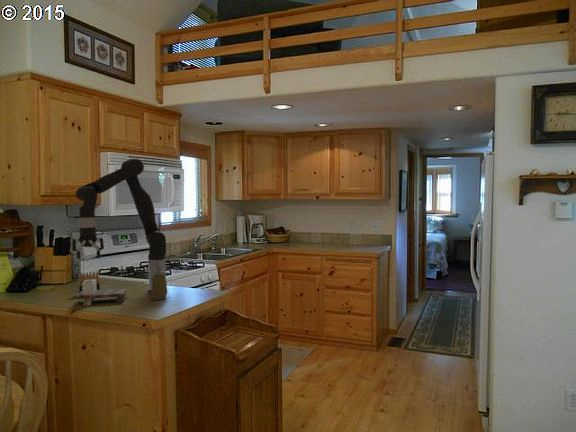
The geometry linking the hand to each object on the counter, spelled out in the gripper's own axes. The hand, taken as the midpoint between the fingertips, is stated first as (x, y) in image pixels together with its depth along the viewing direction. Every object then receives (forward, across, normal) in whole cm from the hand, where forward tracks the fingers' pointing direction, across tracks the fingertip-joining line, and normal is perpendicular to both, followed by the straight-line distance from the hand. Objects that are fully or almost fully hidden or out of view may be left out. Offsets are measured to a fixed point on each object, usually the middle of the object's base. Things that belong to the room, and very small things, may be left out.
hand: (88, 258), depth 219 cm
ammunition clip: (+22, +4, -22) cm, 32 cm away
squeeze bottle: (+22, -34, +4) cm, 41 cm away
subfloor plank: (+22, -6, 0) cm, 23 cm away
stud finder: (+17, 0, 0) cm, 17 cm away
